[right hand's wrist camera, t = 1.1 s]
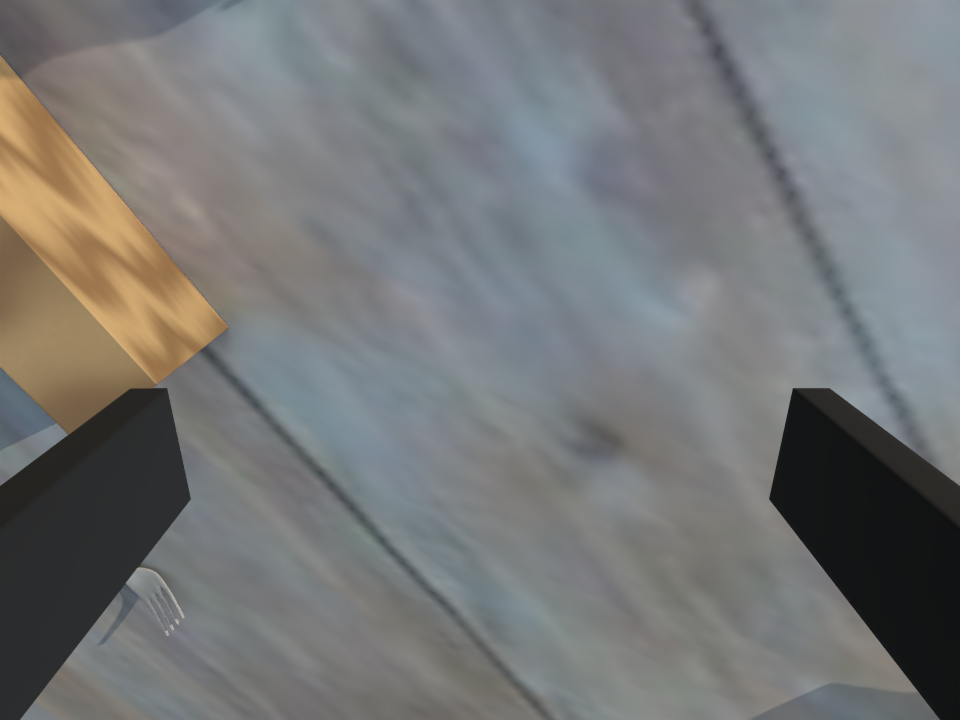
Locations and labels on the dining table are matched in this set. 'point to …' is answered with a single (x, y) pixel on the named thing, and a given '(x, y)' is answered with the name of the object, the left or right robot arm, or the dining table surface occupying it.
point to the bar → (81, 275)
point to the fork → (153, 593)
